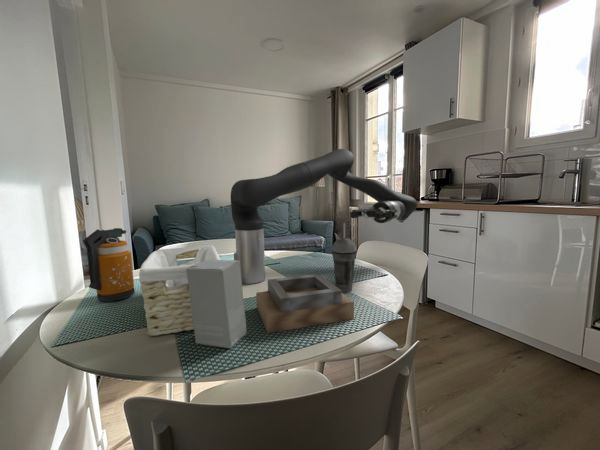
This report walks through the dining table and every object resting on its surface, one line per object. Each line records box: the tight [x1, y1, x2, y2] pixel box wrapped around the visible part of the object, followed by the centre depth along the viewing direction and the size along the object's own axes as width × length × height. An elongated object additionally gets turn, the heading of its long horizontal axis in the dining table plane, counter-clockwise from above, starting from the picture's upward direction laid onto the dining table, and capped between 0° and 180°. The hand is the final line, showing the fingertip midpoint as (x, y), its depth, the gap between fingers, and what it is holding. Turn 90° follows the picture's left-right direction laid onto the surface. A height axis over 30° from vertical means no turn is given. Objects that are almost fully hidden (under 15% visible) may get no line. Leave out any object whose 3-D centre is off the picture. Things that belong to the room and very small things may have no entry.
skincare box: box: [186, 259, 248, 349], centre depth 56 cm, size 8×7×16 cm
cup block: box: [255, 273, 355, 334], centre depth 69 cm, size 20×14×7 cm
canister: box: [82, 227, 135, 303], centre depth 80 cm, size 9×11×20 cm
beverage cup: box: [331, 222, 358, 293], centre depth 83 cm, size 7×7×20 cm
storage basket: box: [138, 244, 221, 337], centre depth 70 cm, size 24×16×15 cm
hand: (363, 215), depth 91 cm, fingers open, 8 cm apart
